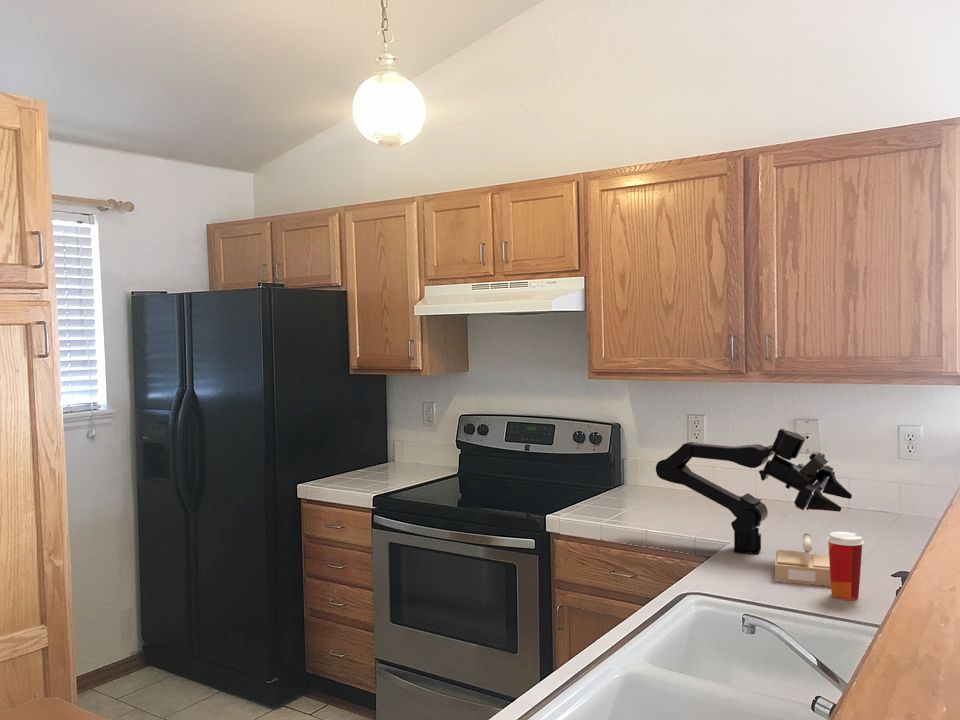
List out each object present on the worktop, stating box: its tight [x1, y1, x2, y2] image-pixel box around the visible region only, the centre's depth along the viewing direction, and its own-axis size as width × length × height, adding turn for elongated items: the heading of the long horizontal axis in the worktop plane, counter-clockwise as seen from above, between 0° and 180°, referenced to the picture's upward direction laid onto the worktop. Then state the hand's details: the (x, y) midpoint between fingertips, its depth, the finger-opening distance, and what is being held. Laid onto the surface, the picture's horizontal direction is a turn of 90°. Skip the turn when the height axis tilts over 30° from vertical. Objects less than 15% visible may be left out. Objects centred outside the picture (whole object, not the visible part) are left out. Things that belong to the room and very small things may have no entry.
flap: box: [777, 533, 813, 566], centre depth 201 cm, size 8×11×5 cm
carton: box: [774, 550, 831, 587], centre depth 200 cm, size 16×13×4 cm
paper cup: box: [826, 531, 865, 601], centre depth 186 cm, size 8×8×14 cm
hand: (846, 503), depth 209 cm, fingers open, 9 cm apart
